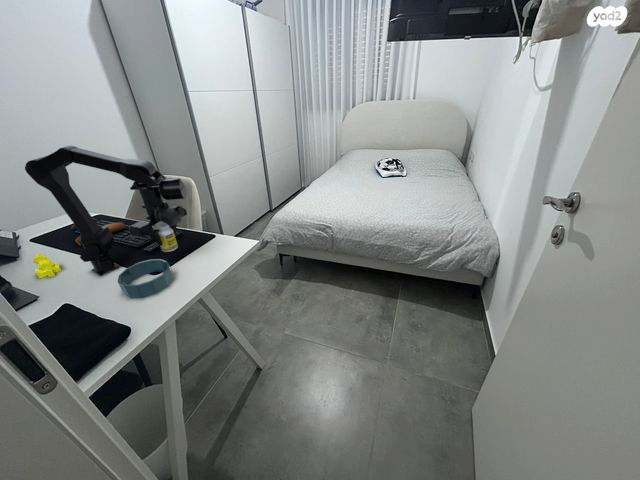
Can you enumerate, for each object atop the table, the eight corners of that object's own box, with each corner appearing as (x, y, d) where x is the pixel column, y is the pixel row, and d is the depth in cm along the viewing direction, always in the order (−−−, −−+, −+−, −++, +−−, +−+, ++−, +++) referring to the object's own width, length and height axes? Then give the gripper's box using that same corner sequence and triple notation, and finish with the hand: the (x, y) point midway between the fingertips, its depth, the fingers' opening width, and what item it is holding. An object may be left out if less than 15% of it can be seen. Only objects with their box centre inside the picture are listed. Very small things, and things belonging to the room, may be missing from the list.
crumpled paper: (40, 280, 88) (27, 261, 85) (36, 272, 93) (24, 254, 89) (63, 272, 92) (51, 254, 89) (58, 264, 97) (46, 246, 93)
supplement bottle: (171, 253, 92) (163, 228, 87) (158, 251, 93) (149, 227, 88) (181, 245, 97) (173, 221, 92) (168, 244, 98) (160, 220, 93)
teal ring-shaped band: (115, 289, 84) (109, 276, 81) (157, 266, 94) (153, 255, 92) (139, 304, 78) (133, 291, 75) (182, 278, 88) (177, 266, 86)
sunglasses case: (119, 224, 125) (117, 215, 120) (127, 234, 124) (126, 225, 119) (73, 240, 112) (69, 230, 107) (82, 251, 111) (79, 242, 106)
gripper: (145, 214, 75) (162, 259, 83) (193, 194, 91) (203, 233, 98) (119, 210, 79) (137, 253, 87) (169, 191, 94) (181, 229, 102)
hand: (167, 241), depth 93 cm, fingers closed on supplement bottle, 5 cm apart
